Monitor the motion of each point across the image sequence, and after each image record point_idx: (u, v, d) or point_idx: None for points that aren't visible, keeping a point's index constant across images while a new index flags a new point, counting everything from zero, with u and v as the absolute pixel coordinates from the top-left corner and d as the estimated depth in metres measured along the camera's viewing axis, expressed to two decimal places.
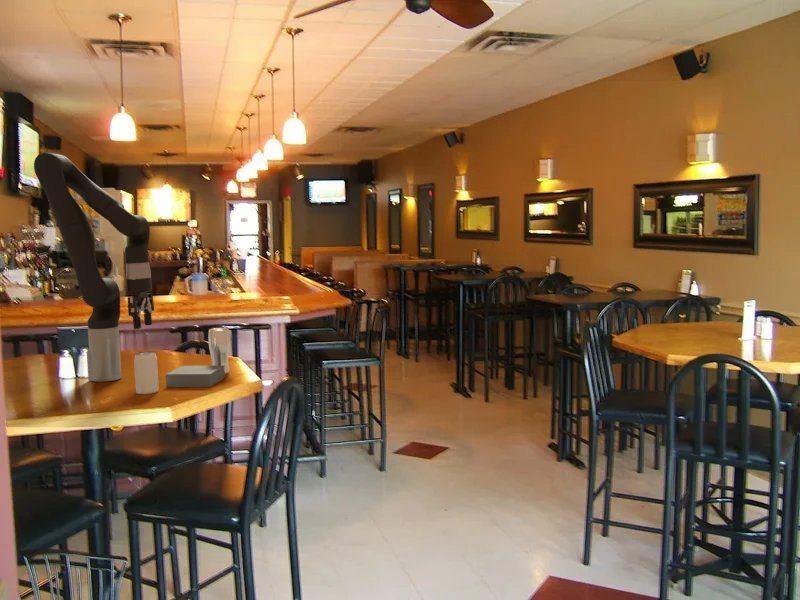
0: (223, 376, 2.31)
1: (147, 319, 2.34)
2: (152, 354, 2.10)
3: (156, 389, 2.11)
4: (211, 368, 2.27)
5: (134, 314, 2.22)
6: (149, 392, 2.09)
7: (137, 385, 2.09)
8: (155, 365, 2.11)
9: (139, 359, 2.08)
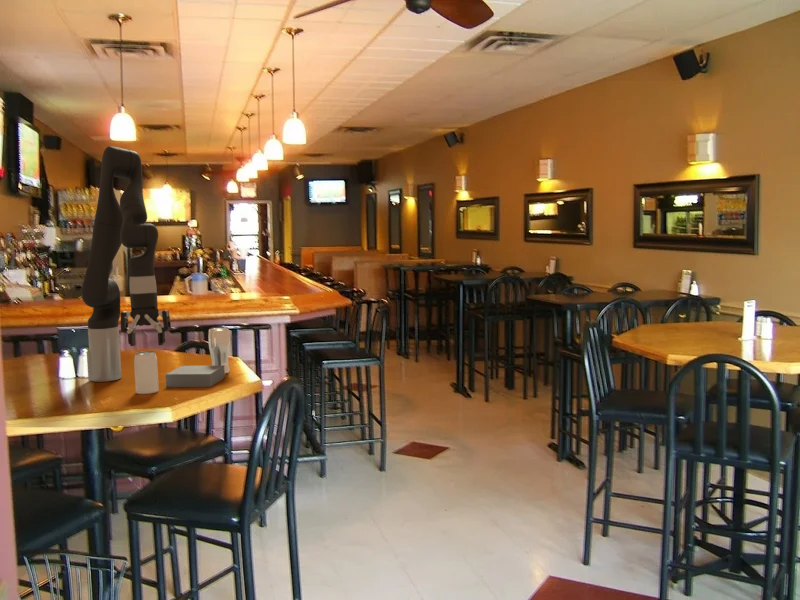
0: (223, 376, 2.31)
1: (133, 339, 2.11)
2: (152, 354, 2.10)
3: (156, 389, 2.11)
4: (211, 368, 2.27)
5: (169, 328, 2.11)
6: (149, 392, 2.09)
7: (137, 385, 2.09)
8: (155, 365, 2.11)
9: (139, 359, 2.08)
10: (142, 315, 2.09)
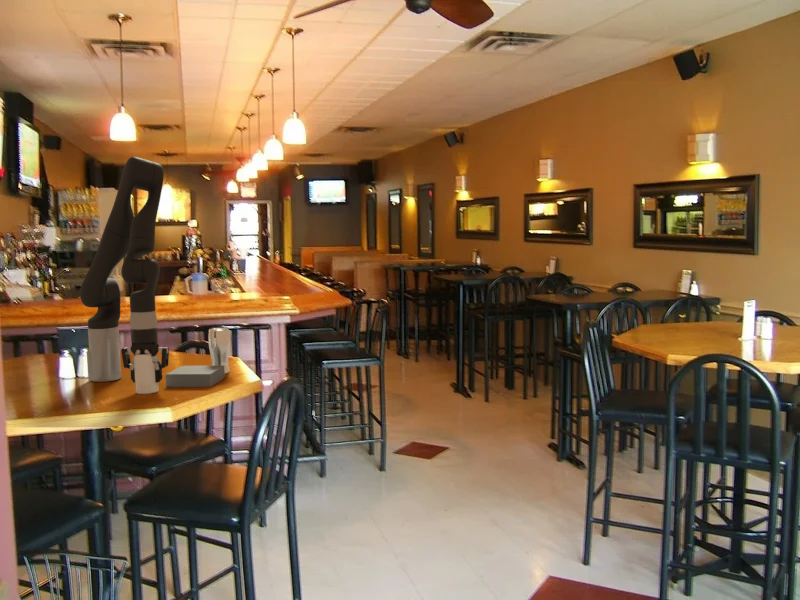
0: (223, 376, 2.31)
1: None
2: None
3: (156, 389, 2.11)
4: (211, 368, 2.27)
5: (167, 365, 2.12)
6: (149, 392, 2.09)
7: (137, 385, 2.09)
8: None
9: (139, 359, 2.08)
10: (142, 350, 2.10)
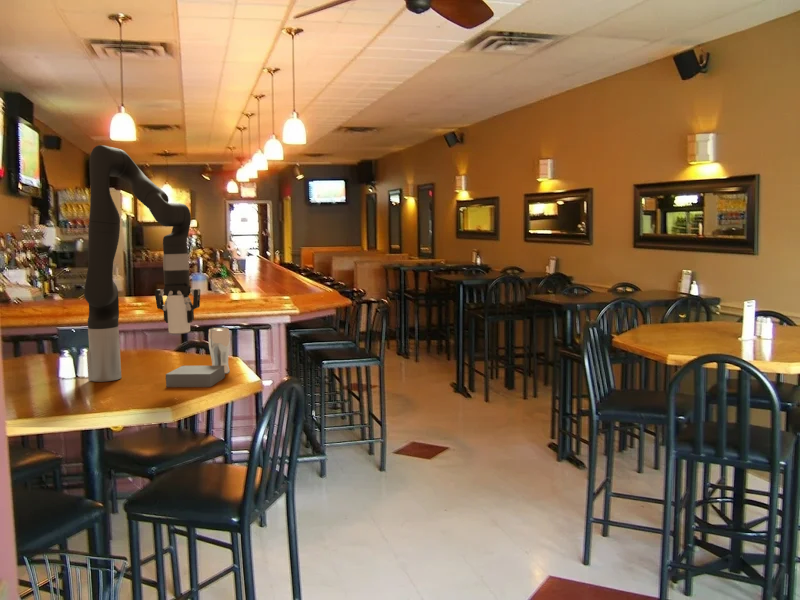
0: (223, 376, 2.31)
1: None
2: None
3: (188, 329, 2.19)
4: (211, 368, 2.27)
5: (198, 306, 2.19)
6: (181, 332, 2.17)
7: (170, 325, 2.17)
8: None
9: (171, 300, 2.15)
10: (175, 291, 2.17)
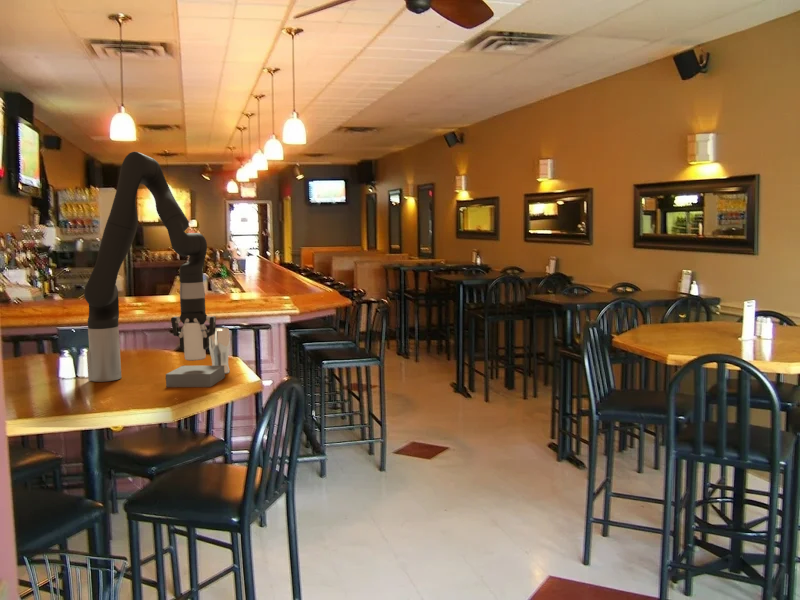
0: (223, 376, 2.31)
1: None
2: None
3: (204, 356, 2.24)
4: (211, 368, 2.27)
5: (214, 333, 2.24)
6: (198, 358, 2.22)
7: (186, 352, 2.22)
8: None
9: (188, 327, 2.21)
10: (191, 319, 2.23)
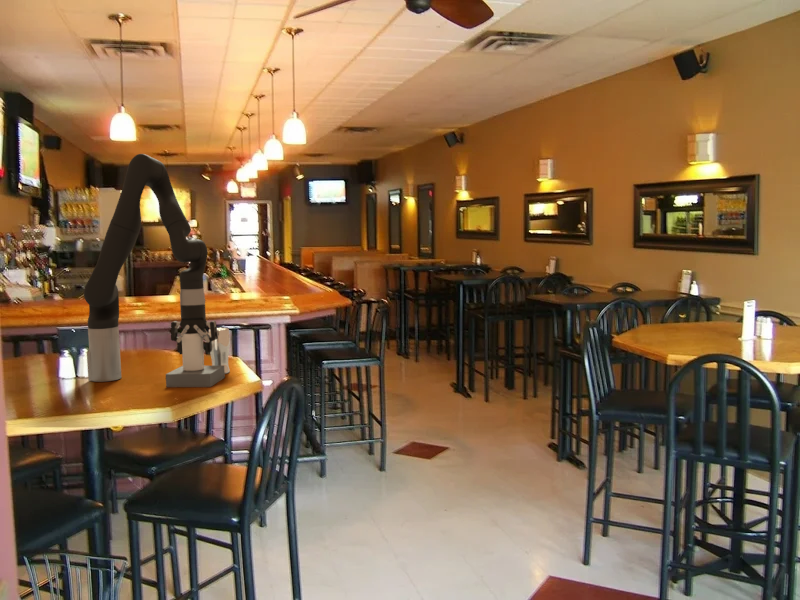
0: (223, 376, 2.31)
1: None
2: None
3: (202, 367, 2.24)
4: (211, 368, 2.27)
5: (216, 338, 2.24)
6: (196, 369, 2.22)
7: (185, 363, 2.22)
8: (201, 344, 2.24)
9: (187, 338, 2.21)
10: (191, 325, 2.23)
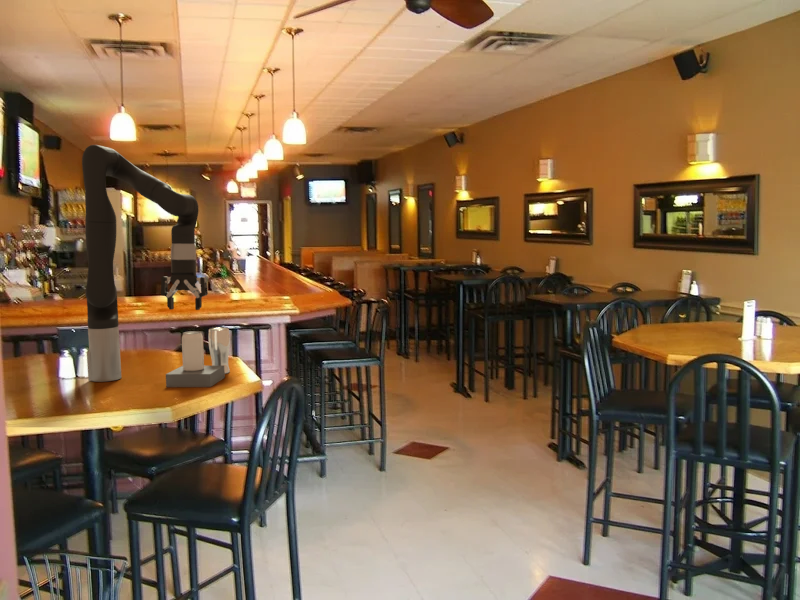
0: (223, 376, 2.31)
1: (172, 303, 2.24)
2: (199, 333, 2.23)
3: (202, 367, 2.24)
4: (211, 368, 2.27)
5: (206, 294, 2.23)
6: (196, 369, 2.22)
7: (185, 363, 2.22)
8: (201, 344, 2.24)
9: (187, 338, 2.21)
10: (181, 280, 2.22)
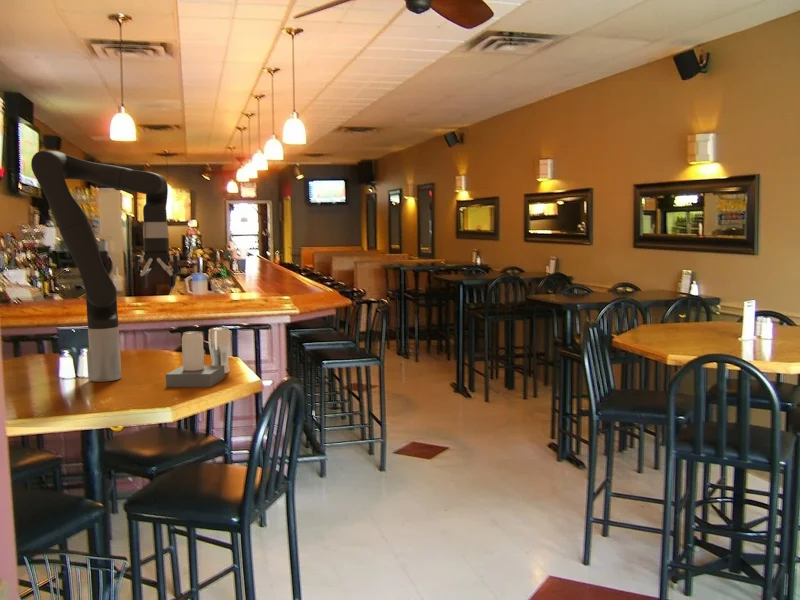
0: (223, 376, 2.31)
1: (146, 281, 2.26)
2: (199, 333, 2.23)
3: (202, 367, 2.24)
4: (211, 368, 2.27)
5: (180, 272, 2.26)
6: (196, 369, 2.22)
7: (185, 363, 2.22)
8: (201, 344, 2.24)
9: (187, 338, 2.21)
10: (154, 259, 2.24)
